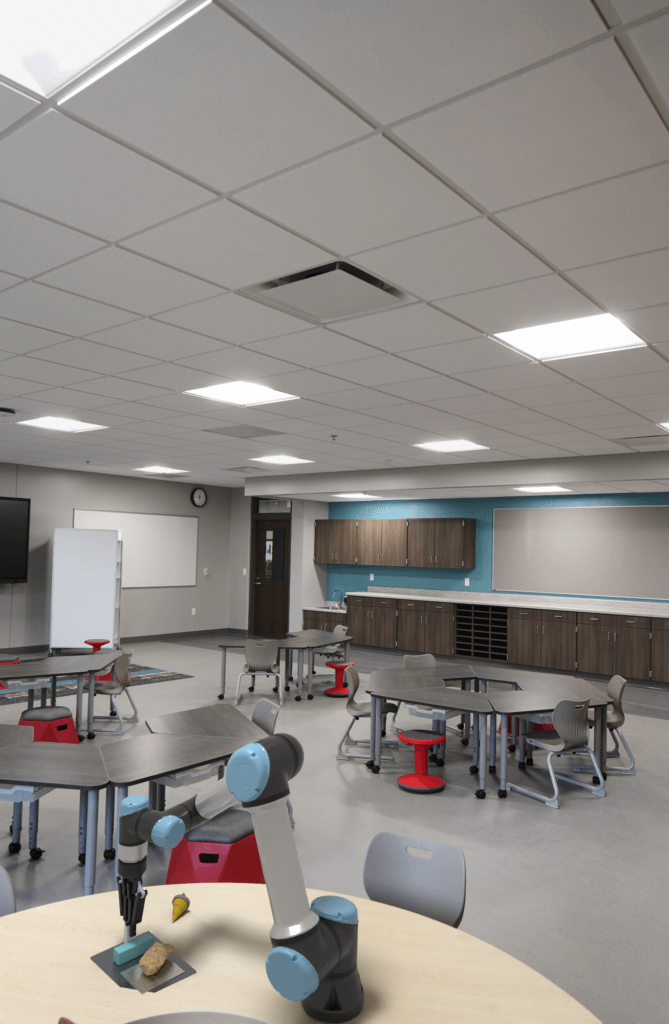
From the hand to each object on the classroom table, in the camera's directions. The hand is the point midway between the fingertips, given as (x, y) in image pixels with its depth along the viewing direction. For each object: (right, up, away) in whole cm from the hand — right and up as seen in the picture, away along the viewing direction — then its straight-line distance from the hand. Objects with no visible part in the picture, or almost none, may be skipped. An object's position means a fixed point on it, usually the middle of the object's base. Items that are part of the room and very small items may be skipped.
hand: (129, 946), depth 174 cm
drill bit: (+9, 0, +24) cm, 26 cm away
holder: (+5, -2, -5) cm, 7 cm away
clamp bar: (+2, -1, -2) cm, 2 cm away
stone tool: (+11, 0, -11) cm, 16 cm away
